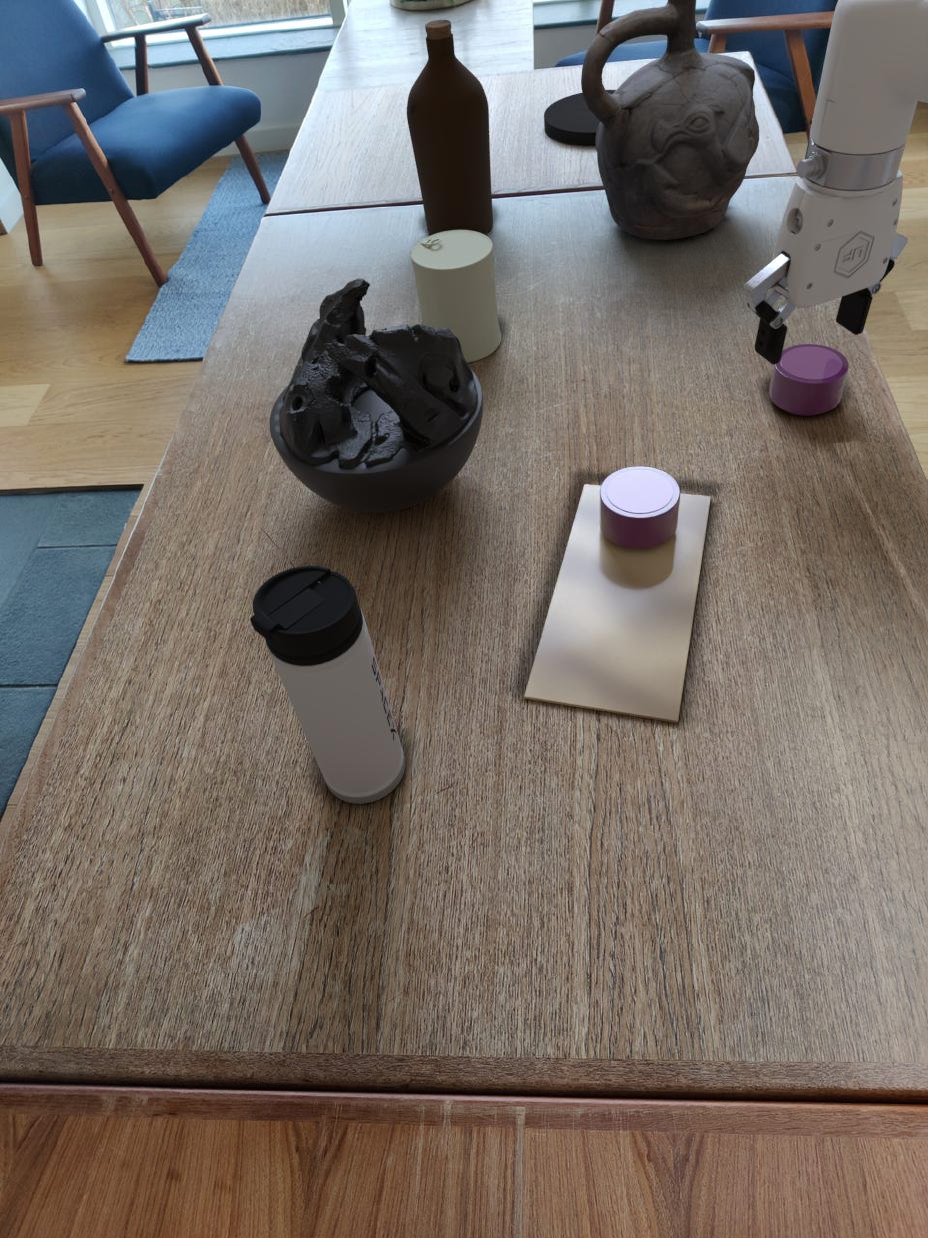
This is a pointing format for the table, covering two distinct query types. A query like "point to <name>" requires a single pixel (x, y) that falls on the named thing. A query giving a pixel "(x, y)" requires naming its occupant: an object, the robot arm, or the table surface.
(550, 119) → the wireless charger
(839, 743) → the table surface
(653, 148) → the vessel
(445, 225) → the olive oil
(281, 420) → the coal bowl
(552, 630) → the beige metallic rectangular plate
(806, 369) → the purple short cylinder
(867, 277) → the robot arm
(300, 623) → the travel mug
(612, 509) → the purple short cylinder
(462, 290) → the can
